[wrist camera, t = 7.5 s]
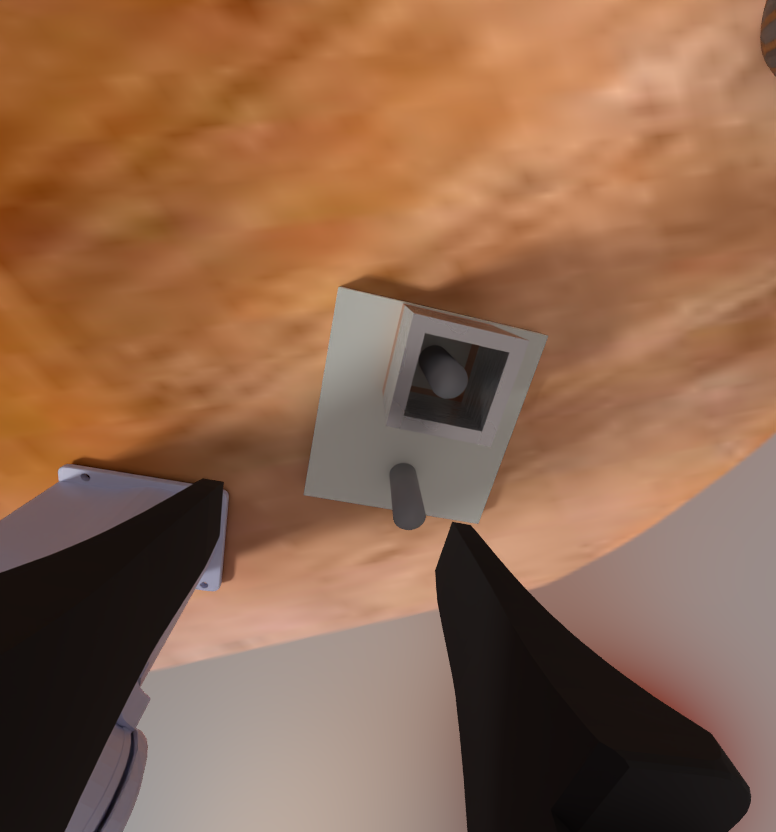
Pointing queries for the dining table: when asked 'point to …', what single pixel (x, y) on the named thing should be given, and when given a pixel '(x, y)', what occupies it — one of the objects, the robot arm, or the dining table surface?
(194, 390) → the dining table surface
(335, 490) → the pin board
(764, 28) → the vase
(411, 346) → the sleeve
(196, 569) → the robot arm
